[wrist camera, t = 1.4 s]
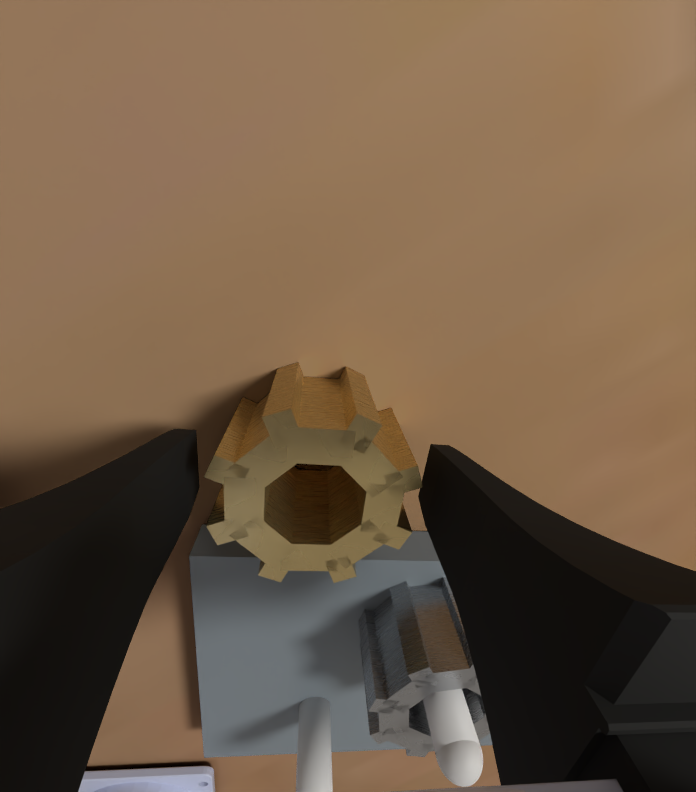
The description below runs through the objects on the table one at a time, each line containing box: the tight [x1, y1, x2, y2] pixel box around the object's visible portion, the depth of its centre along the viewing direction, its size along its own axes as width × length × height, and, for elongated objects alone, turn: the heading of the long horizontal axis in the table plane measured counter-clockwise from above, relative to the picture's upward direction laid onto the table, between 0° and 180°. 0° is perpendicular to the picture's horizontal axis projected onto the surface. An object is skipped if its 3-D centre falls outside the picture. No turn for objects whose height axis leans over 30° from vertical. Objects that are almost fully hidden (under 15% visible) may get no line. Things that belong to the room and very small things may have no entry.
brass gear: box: [204, 363, 423, 583], centre depth 11 cm, size 6×6×4 cm
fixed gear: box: [358, 577, 490, 757], centre depth 13 cm, size 5×5×3 cm
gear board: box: [189, 524, 492, 792], centre depth 14 cm, size 13×16×6 cm
